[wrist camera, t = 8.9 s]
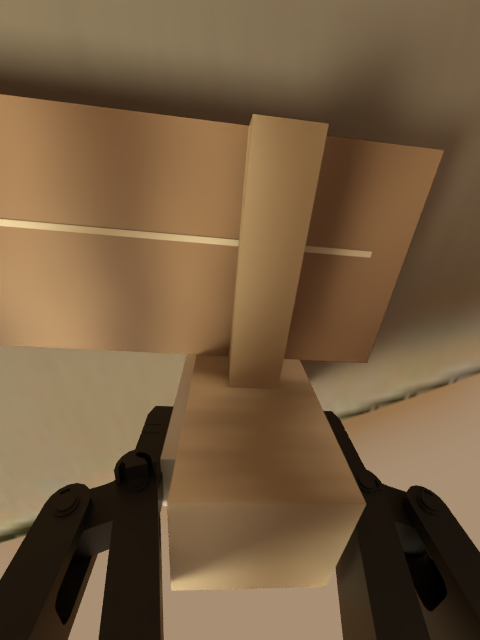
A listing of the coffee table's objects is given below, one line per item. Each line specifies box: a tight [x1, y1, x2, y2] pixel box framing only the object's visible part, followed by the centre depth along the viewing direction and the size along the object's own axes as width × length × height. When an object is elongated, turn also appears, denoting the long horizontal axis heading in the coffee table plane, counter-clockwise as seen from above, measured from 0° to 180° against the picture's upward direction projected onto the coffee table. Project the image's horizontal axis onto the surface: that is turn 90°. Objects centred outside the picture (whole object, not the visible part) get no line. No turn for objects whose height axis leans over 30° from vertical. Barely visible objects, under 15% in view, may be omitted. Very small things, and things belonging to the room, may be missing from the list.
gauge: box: [167, 114, 366, 591], centre depth 10 cm, size 5×14×9 cm, turn 175°
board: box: [0, 94, 444, 363], centre depth 11 cm, size 24×9×2 cm, turn 85°
